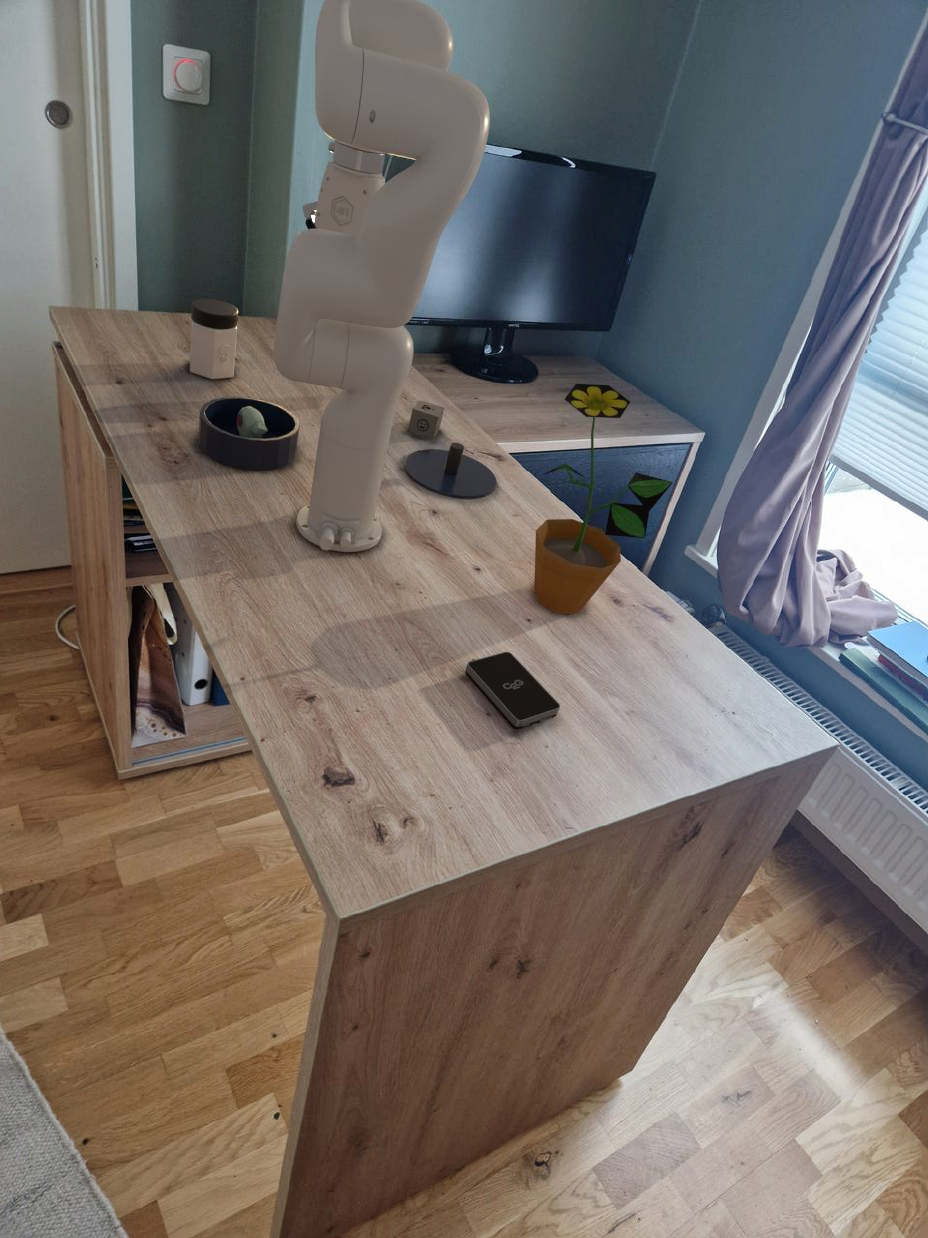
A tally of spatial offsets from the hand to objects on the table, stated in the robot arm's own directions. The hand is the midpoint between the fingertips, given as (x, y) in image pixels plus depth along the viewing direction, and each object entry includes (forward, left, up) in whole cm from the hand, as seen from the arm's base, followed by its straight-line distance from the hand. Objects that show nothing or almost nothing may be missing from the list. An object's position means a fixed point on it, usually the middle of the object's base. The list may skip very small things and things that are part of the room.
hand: (342, 276), depth 134 cm
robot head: (-15, +10, -26) cm, 32 cm away
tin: (-15, +10, -26) cm, 32 cm away
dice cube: (+5, -19, -26) cm, 32 cm away
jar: (+13, +22, -26) cm, 37 cm away
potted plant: (-43, -40, -26) cm, 64 cm away
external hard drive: (-66, -31, -26) cm, 78 cm away
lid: (-11, -24, -25) cm, 36 cm away
